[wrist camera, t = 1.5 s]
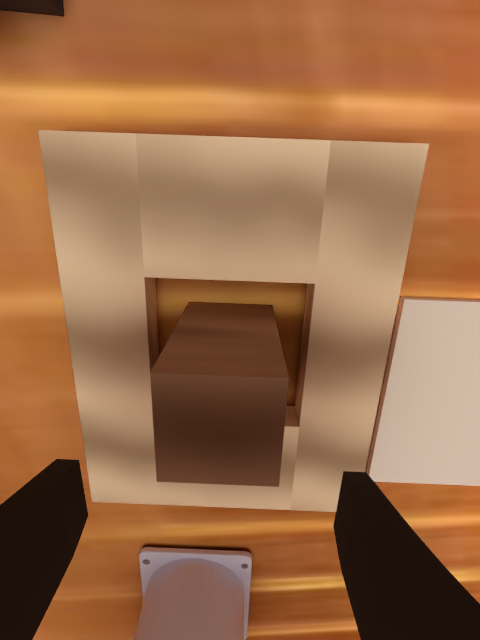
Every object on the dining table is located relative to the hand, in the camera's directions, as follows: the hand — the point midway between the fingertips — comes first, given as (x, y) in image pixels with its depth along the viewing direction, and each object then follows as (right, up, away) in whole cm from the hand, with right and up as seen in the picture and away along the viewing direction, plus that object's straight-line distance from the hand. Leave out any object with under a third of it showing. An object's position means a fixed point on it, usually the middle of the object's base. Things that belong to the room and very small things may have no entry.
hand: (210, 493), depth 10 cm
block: (0, +4, +10) cm, 11 cm away
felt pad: (+14, 0, +11) cm, 18 cm away
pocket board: (0, +4, +10) cm, 11 cm away
